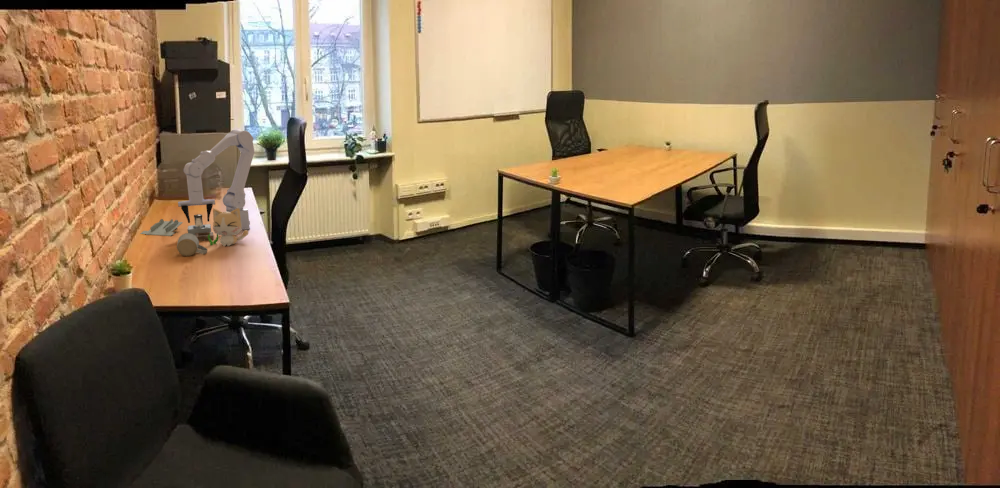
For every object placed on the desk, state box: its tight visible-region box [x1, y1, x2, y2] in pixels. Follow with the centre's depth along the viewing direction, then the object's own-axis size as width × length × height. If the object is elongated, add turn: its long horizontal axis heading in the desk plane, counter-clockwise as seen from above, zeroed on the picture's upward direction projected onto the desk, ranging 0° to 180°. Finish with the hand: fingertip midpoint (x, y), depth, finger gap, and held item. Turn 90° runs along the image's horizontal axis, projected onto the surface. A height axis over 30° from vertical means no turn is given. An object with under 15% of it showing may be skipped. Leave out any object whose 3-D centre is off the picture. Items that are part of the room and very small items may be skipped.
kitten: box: [207, 208, 249, 247], centre depth 284 cm, size 15×10×15 cm
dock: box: [186, 223, 212, 235], centre depth 302 cm, size 9×8×4 cm
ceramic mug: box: [176, 232, 208, 257], centre depth 270 cm, size 11×8×8 cm
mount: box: [195, 231, 214, 242], centre depth 295 cm, size 7×7×2 cm
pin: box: [193, 213, 204, 228], centre depth 301 cm, size 3×3×9 cm
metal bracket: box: [139, 218, 184, 237], centre depth 306 cm, size 14×6×15 cm
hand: (198, 221), depth 301 cm, fingers open, 7 cm apart
